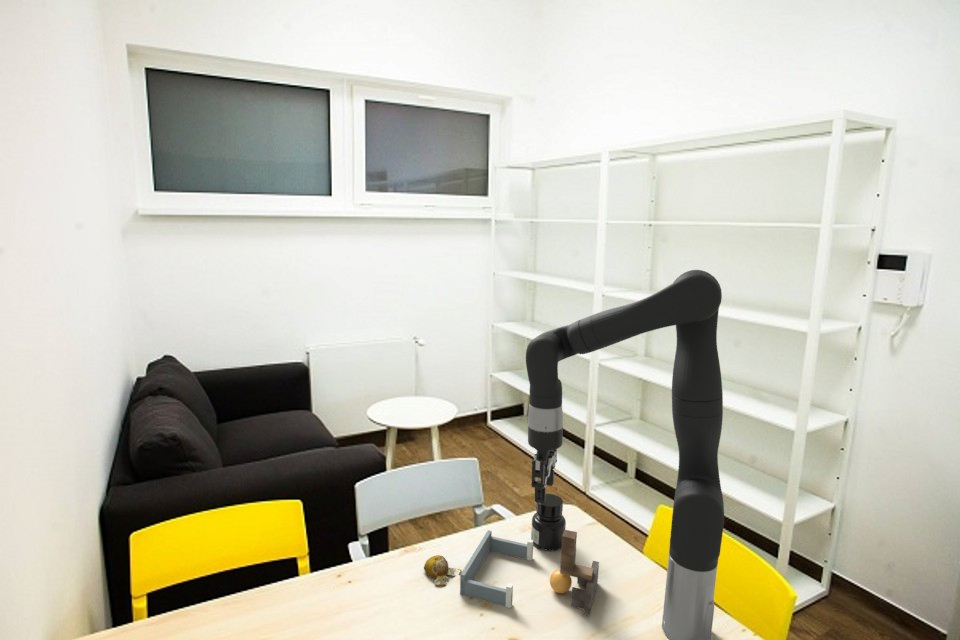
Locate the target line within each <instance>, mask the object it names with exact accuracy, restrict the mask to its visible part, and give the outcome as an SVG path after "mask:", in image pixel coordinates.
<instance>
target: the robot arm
mask: <svg viewBox="0 0 960 640" xmlns="http://www.w3.org/2000/svg"><path fill="white" fill-rule="evenodd" d="M722 298H723V296H722V288H721V285H720V283H719V281H718V280H717V279H716V278H715V276H714V275H712V274H711V273H709V272H707V271H704V270H702V269H691V270H687V271H686V272H683V273H682V274H680V275H679V276H678V277H677V278H676V279H674V281H673V282H672V283H671V284H670V285H667V286H666V287H664V288H662V289H661V290H659V291H657V292H656V293H654V294H651V295H649V296H647V297H645V298H643V299H641V300H637V301H634V302H632V303H627V304H625V305H621V306H617V307H613V308H609V309H607V310H603V311H600V312H597V313H593V314H592V315H589V316H587V317H583V318H581V319H579V320H576V321H575V322H572V323H570V324H567V325H564V326H560V327H556V328H553V329H551V330H547V331H545V332H542V333H541V334H539V335H537V336H536V337H534V338H532V339H531V340H530V341H529V343H528V344H527V347H526V349H525V367H526V372H527V377H528V382H529V401H528V402H529V404H528V405H529V407H528V413H527V419H528V420H527V423H528V425H527V444H528V445H529V446H530V447H531V448H533V449H534V450H535V451H536V453H534V456H533V459H532V461H531V483H530V484H531V485H530V486H531V488H534V502H535V503H536V504H537V503H542V504H543V503H545V498H546V494H547V493H546V488H547V486H549V487H552V486H554V483H555V477H554V476H555V469H556V464H557V462H558V458H557V457H558V456H557V455H558V454H557V453H558V449H559V448H561V447H562V445H563V436H564V435H563V433H564V432H563V431H564V430H563V428H564V412H563V384H562V381H561V379H559V372H558V371H559V369H558V365H559V362H561V361H563V360H566V359H567V358H570V357H574V356H576V355H585V354H589V353H593V352H595V351H598V350H600V349H605V348H607V347H609V346H613V345H615V344H618V343H620V342H622V341H626V340H628V339H631V338H633V337H636V336H639V335H642V334H645V333H649V332H652V331H655V330H660V329H663V328H667V327H668V328H669V327H671V326H675V332H676V347H675V355H674V361H673V369H672V379H671V380H672V381H671V408H672V409H671V412H672V413H671V414H672V422H673V428H674V433H675V438H676V442H677V448H678V469H677V472H678V473H677V480H676V486H675V487H676V488H675V491H674V498H673V499H674V500H673V508H672V516H671V526H670V527H671V528H670V536H669V537H670V538H669V547H668V548H669V549H668V560H667V571H666V580H665V589H664V590H665V592H664V602H663V612H662V613H663V614H662V621H661V622H662V624H661V628H662V630H663V631H662V632H663V633H664V634H665V636H666V637H667V638H668V639H669V640H711V639H712V630H713V622H714V614H715V613H714V612H715V598H714V597H715V590H716V583H717V582H716V581H717V573H718V563H719V558H720V555H721V547H722V541H723V533H724V525H725V508H724V506H725V505H724V504H725V503H724V496H723V491H722V486H721V478H720V472H719V471H720V470H719V462H718V461H719V460H718V459H719V458H718V455H719V454H718V453H719V447H720V441H721V437H722V436H721V435H722V430H723V429H722V427H723V416H724V413H723V412H724V411H723V410H724V406H723V405H724V401H723V398H724V396H723V395H724V394H723V382H722V372H721V364H720V358H719V351H718V343H717V341H718V340H717V337H718V336H717V333H718V319H719V310H720V305H721V303H722ZM539 479H540V481H539Z"/></svg>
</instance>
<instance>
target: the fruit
mask: <svg viewBox="0 0 960 640" xmlns="http://www.w3.org/2000/svg"><path fill="white" fill-rule="evenodd" d="M423 569H424V573H425V574H426V575H427V576H428V578H431V579H434V578H435V580H433V584H434V585H435V586H437V587H438V586H439V587H446V586H447V585H448V583H449V581H450V578H449V577H448V576H453V577H456V574H455V572H456V571H459V574H458V575H459V576H460V574H461V573H462V571H463V570H462V569H460V568H454V567H450V566H449V562H448V561H447V559H446V557H444V556H443V555H440V554H437V555H433V556H431V557H429V558H428V559H427V560H426V561H425V564H424V566H423ZM447 575H448V576H447Z"/></svg>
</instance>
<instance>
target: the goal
mask: <svg viewBox="0 0 960 640" xmlns="http://www.w3.org/2000/svg"><path fill="white" fill-rule="evenodd" d="M490 552H494V553H497V554H502V555H507V556H509V557H514V558H519V559H524V560H526V561H530V562H531V561H532V560H533V556H534V555H533V554H534V553H533V552H534V544H533V540H531V538H530V539H529V538H528V540H527V543H523V542H519V541H516V540H515V541H513V540H510V539H506V538H500V537H497V536H493V535H492V530H490V529H489V530H486V532H485V535H484V536H483V538H482V539H481V540H480V542H479V544H478V545H477V547H476V548H475V550H474V552H473V553H472V556H471V557H470V559H469V560H468V562H467V563H466V565H465V567H464V568H463V570H462V573H461V574H460V575H459V577H460V578H459V579H460V580H459V583H460V584H459V585H460V587H459V594H460V595H461V596H465V597H469V598H473V599H475V600H476V599H477V600H480V601H484V602H488V603H491V604H496V605H498V606H503V607H504V608H505V607H506V608H508V609H511V608H512V606H513V592H514V584H513V583H508V582H507V584H506V586H505V588H503V587H499V586H496V585H492V584H487V583H484V582H481V581H477V580H476V581H475V580H474V579H475V577H476V575H477V574H478V572H479V570H480V568H481V567H482V565H483V563H484V562H485V560H486V558H487V556H488V554H489V553H490Z"/></svg>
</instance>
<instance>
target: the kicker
mask: <svg viewBox="0 0 960 640" xmlns="http://www.w3.org/2000/svg"><path fill="white" fill-rule="evenodd" d="M577 534H578V533H577V531H573V530H569V529H565V530H564V533H563V535H562V547H561V548H560V550H561V551H560V566H559V567H560V568H559V569H560V574H565V575H569V576H570V577H573V578H577V581H576V583H577V584H578V585H582V586H586V587H585V589H584V588H583V589H582V588H580V587H575V586H571V587H572V588H571V596H570V597H571V598H570V599H571V600H570V606H571V607H573V608H578V609H581V610H583V613H582V614H583V615H586V616H591V613H592V612H591V611H592V608H593V603H594V599H595V595H596V590H597V586H598V583H599V582H598V581H599V569H600V568H599V564H600V561H596V560H592V563H591V566H586V565H582V564H578V563H576V553H577V552H576V551H577V549H576V548H577V537H578V536H577Z"/></svg>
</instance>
